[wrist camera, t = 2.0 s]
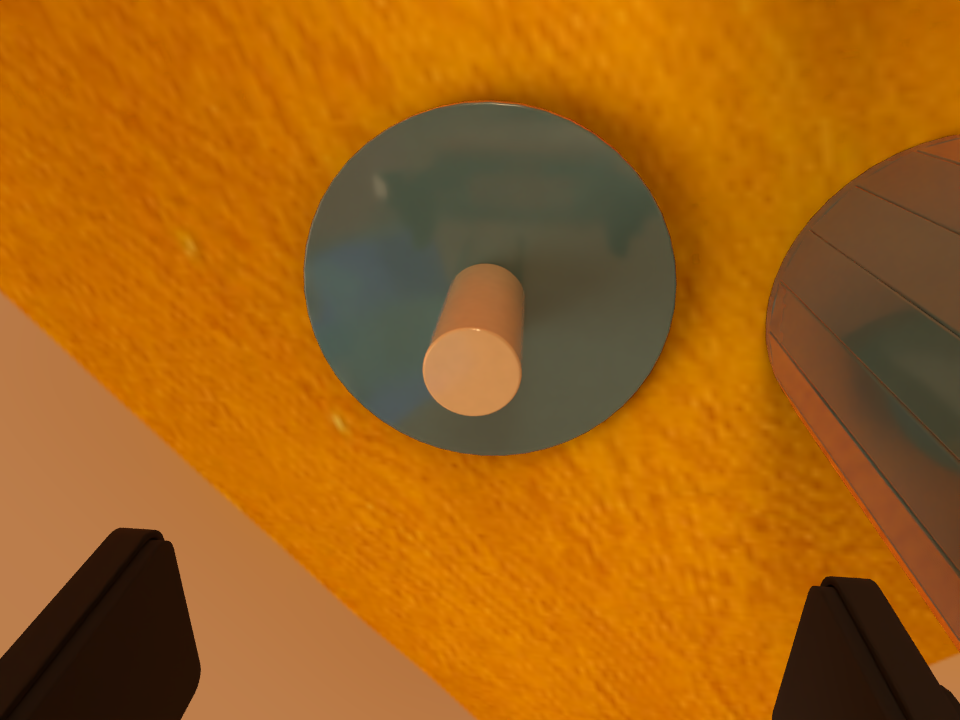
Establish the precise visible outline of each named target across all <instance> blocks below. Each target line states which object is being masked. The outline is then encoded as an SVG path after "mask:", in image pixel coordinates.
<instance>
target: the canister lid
mask: <svg viewBox="0 0 960 720" xmlns="http://www.w3.org/2000/svg"><path fill="white" fill-rule="evenodd" d="M676 286H677V282H676V265H675V257H674V252H673V247H672V242H671V237H670V234H669V232H668V229H667V226H666V223H665V220H664V218H663V215H662V212H661V211H660V209H659V207H658V205H657V203H656V201H655V199H654V197H653V195H652V194H651V192H650V190H649V189H648V187H647V186H646V184H645V183H644V182H643V180H642V179H641V178H640V176H639V175H638V174H637V172H636V171H635V169H634V168H633V167H632V166H631V165H630V164H629V163H628V162H627V161H626V160H625V158H624V157H623V156H622V155H621V154H620V153H619V152H618V151H617V150H616V149H615V148H614V147H612V146H611V145H610V144H608V143H607V142H606V141H604V140H603V139H602V138H601V137H599V136H598V135H597V134H595V133H594V132H593V131H591V130H589V129H587V128H586V127H584V126H582V125H580V124H578V123H577V122H575V121H573V120H571V119H569V118H567V117H564V116H562V115H559V114H557V113H554V112H552V111H549V110H547V109H543V108H539V107H535V106H531V105H527V104H523V103H518V102H507V101H497V100H481V101H464V102H458V103H453V104H447V105H442V106H438V107H435V108H432V109H429V110H426V111H423V112H420V113H417V114H414V115H412V116H410V117H408V118H406V119H404V120H402V121H400V122H398V123H396V124H394V125H392V126H391V127H389V128H387V129H386V130H384V131H383V132H382V133H380V134H379V135H377V136H376V137H375V138H373V139H372V140H370V141H369V142H367V143H366V144H365V145H364V146H363V147H362V148H361V149H360V150H359V151H358V152H357V153H356V154H354V155H353V156H352V157H351V158H350V159H349V160H348V161H347V163H346V164H345V165H344V166H343V168H342V169H341V170H340V171H339V173H338V174H337V175H336V176H335V178H334V179H333V180H332V182H331V184H330V185H329V187H328V189H327V191H326V192H325V194H324V196H323V197H322V199H321V201H320V203H319V206H318V208H317V211H316V213H315V216H314V218H313V221H312V223H311V227H310V231H309V235H308V239H307V243H306V250H305V260H304V293H305V298H306V304H307V310H308V315H309V318H310V322H311V325H312V328H313V331H314V335H315V337H316V339H317V342H318V344H319V346H320V348H321V350H322V353H323V355H324V357H325V358H326V360H327V362H328V363H329V365H330V367H331V368H332V370H333V371H334V373H335V375H336V376H337V377H338V378H339V380H340V381H341V382H342V383H343V385H344V386H345V387H346V389H347V390H348V391H349V392H350V393H351V394H352V395H353V396H354V397H355V398H356V399H357V400H358V401H359V402H360V403H361V404H362V405H363V406H364V407H365V408H366V409H368V410H369V411H370V412H371V413H373V414H374V415H375V416H376V417H378V418H379V419H380V420H382V421H383V422H385V423H386V424H388V425H390V426H391V427H393V428H394V429H396V430H398V431H399V432H401V433H403V434H405V435H407V436H410V437H412V438H414V439H416V440H418V441H420V442H423V443H426V444H429V445H432V446H435V447H438V448H441V449H445V450H450V451H454V452H459V453H465V454H473V455H482V456H505V455H515V454H524V453H529V452H534V451H538V450H543V449H547V448H550V447H553V446H556V445H559V444H562V443H565V442H567V441H569V440H572V439H574V438H576V437H578V436H580V435H582V434H584V433H586V432H588V431H589V430H591V429H593V428H594V427H596V426H597V425H599V424H600V423H602V422H604V421H605V420H606V419H608V418H609V417H610V416H611V415H612V414H614V413H615V412H616V411H617V410H618V409H620V408H621V407H622V406H623V405H624V404H625V403H626V402H627V401H628V400H629V399H630V398H631V397H632V395H633V394H634V393H635V392H636V391H637V390H638V389H639V387H640V386H641V385H642V383H643V382H644V381H645V379H646V378H647V376H648V375H649V374H650V372H651V371H652V369H653V367H654V365H655V363H656V361H657V359H658V358H659V356H660V354H661V352H662V349H663V347H664V344H665V341H666V339H667V336H668V333H669V331H670V327H671V322H672V318H673V313H674V309H675V298H676Z"/></svg>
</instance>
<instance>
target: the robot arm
mask: <svg viewBox="0 0 960 720" xmlns="http://www.w3.org/2000/svg"><path fill="white" fill-rule="evenodd" d="M200 672H201V668H200V661H199V657H198V652H197V648H196V643H195V639H194V635H193V630H192V626H191V622H190V618H189V613H188V608H187V604H186V600H185V596H184V591H183V587H182V582H181V578H180V574H179V569H178V565H177V561H176V556H175V552H174V548H173V545H172V543H171V542H169V541H164V538H163V535H162V534H161V533H160V532H159V531H157V530H148V529H133V528H118V529H116V530H114V531H113V532H112V533H111V534H110V535H109V536H108V537H107V538H106V539H105V540H104V541H103V542H102V544H101V545H100V546H99V547H98V548H97V549H96V550H95V552H94V553H93V554H92V555H91V556H90V557H89V558H88V560H87V561H86V562H85V563H84V564H83V565H82V566H81V568H80V569H79V570H78V571H77V572H76V573H75V574H74V576H73V577H72V578H71V579H70V580H69V581H68V582H67V583H66V585H65V586H64V587H63V588H62V589H61V590H60V591H59V593H58V594H57V595H56V596H55V597H54V598H53V599H52V601H51V602H50V603H49V604H48V605H47V606H46V607H45V609H44V610H43V611H42V612H41V613H40V614H39V615H38V616H37V618H36V619H35V620H34V621H33V622H32V623H31V625H30V626H29V627H28V628H27V629H26V630H25V631H24V632H23V634H22V635H21V636H20V637H19V638H18V639H17V640H16V642H15V643H14V644H13V645H12V646H11V647H10V649H9V650H8V651H7V652H6V653H5V654H4V655H3V656H2V658H1V659H0V720H181V718H182V716H183V714H184V712H185V710H186V708H187V707H188V705H189V703H190V701H191V699H192V697H193V695H194V694H195V691H196V689H197V687H198V683H199V679H200ZM772 720H960V703H959V702H958V701H957V699H956V698H955V697H954V696H953V694H952V693H951V692H950V691H949V690H947V689H946V688H944V687H943V686H942V685H939V683H938V681H937V680H936V678H935V677H934V675H933V673H932V672H931V670H930V668H929V667H928V665H927V663H926V662H925V660H924V659H923V657H922V655H921V654H920V652H919V651H918V649H917V647H916V646H915V644H914V642H913V641H912V639H911V638H910V636H909V634H908V633H907V631H906V630H905V628H904V626H903V625H902V623H901V622H900V620H899V618H898V617H897V615H896V613H895V612H894V610H893V609H892V607H891V605H890V604H889V602H888V601H887V599H886V597H885V596H884V594H883V593H882V591H881V589H880V588H879V586H878V585H877V584H876V583H875V582H874V581H872V580H871V579H862V578H847V577H833V576H829V577H826V578H825V579H824V580H823V581H822V583H821V586H812V587H811V588H810V590H809V592H808V595H807V599H806V602H805V605H804V609H803V612H802V616H801V619H800V622H799V626H798V629H797V632H796V636H795V639H794V642H793V646H792V649H791V653H790V656H789V659H788V663H787V666H786V669H785V673H784V676H783V680H782V683H781V686H780V690H779V693H778V696H777V700H776V703H775V706H774V710H773V715H772Z"/></svg>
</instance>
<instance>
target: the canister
mask: <svg viewBox="0 0 960 720" xmlns="http://www.w3.org/2000/svg"><path fill="white" fill-rule="evenodd" d="M766 343H767V349H768V355H769V360H770V363H771V366H772V369H773V372H774V375H775V377H776V379H777V381H778V383H779V385H780V387H781V389H782V391H783V392H784V394H785V395H786V397H787V398H788V400H789V402H790V403H791V405H792V407H793V409H794V410H795V412H796V414H797V415H798V417H799V418H800V419H801V421H802V422H803V424H804V425H805V427H806V428H807V430H808V431H809V433H810V434H811V436H812V437H813V439H814V440H815V441H816V443H817V444H818V446H819V447H820V449H821V450H822V452H823V453H824V455H825V456H826V458H827V459H828V460H829V462H830V463H831V465H832V466H833V468H834V469H835V471H836V472H837V474H838V475H839V477H840V478H841V479H842V481H843V482H844V484H845V485H846V487H847V488H848V490H849V491H850V493H851V494H852V496H853V497H854V499H855V500H856V501H857V503H858V504H859V506H860V507H861V509H862V510H863V512H864V513H865V515H866V516H867V518H868V519H869V520H870V522H871V523H872V525H873V526H874V528H875V529H876V531H877V532H878V534H879V535H880V537H881V538H882V540H883V541H884V542H885V544H886V545H887V547H888V548H889V550H890V551H891V553H892V554H893V556H894V557H895V559H896V560H897V561H898V563H899V564H900V566H901V567H902V569H903V570H904V572H905V573H906V575H907V576H908V578H909V579H910V580H911V582H912V583H913V585H914V586H915V588H916V589H917V591H918V592H919V594H920V595H921V597H922V598H923V600H924V601H925V602H926V604H927V605H928V607H929V608H930V610H931V611H932V613H933V614H934V616H935V617H936V619H937V620H938V621H939V623H940V624H941V626H942V627H943V629H944V630H945V632H946V633H947V635H948V636H949V638H950V639H951V640H952V642H953V643H954V645H955V646H956V648H957V649H958V651H959V652H960V134H959V135H953V136H948V137H944V138H941V139H937V140H933V141H930V142H926V143H923V144H920V145H918V146H915V147H913V148H910V149H908V150H905V151H903V152H900V153H898V154H896V155H894V156H892V157H890V158H888V159H886V160H885V161H883V162H881V163H879V164H877V165H875V166H873V167H872V168H870V169H869V170H867V171H866V172H864V173H863V174H861V175H860V176H858V177H857V178H855V179H854V180H853V181H851V182H850V183H848V184H847V185H846V186H845V187H844V188H842V189H841V190H840V191H839V192H838V193H837V194H835V195H834V196H833V197H832V198H831V199H829V200H828V201H827V202H826V204H825V205H824V206H823V207H822V208H821V209H820V210H819V211H818V212H817V213H816V214H815V215H814V216H813V217H812V218H811V219H810V221H809V222H808V223H807V225H806V226H805V227H804V229H803V230H802V231H801V233H800V234H799V235H798V237H797V238H796V239H795V241H794V243H793V245H792V246H791V248H790V250H789V251H788V253H787V255H786V256H785V258H784V260H783V262H782V265H781V267H780V269H779V272H778V274H777V276H776V278H775V281H774V285H773V288H772V292H771V295H770V299H769V304H768V311H767V317H766Z"/></svg>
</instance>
